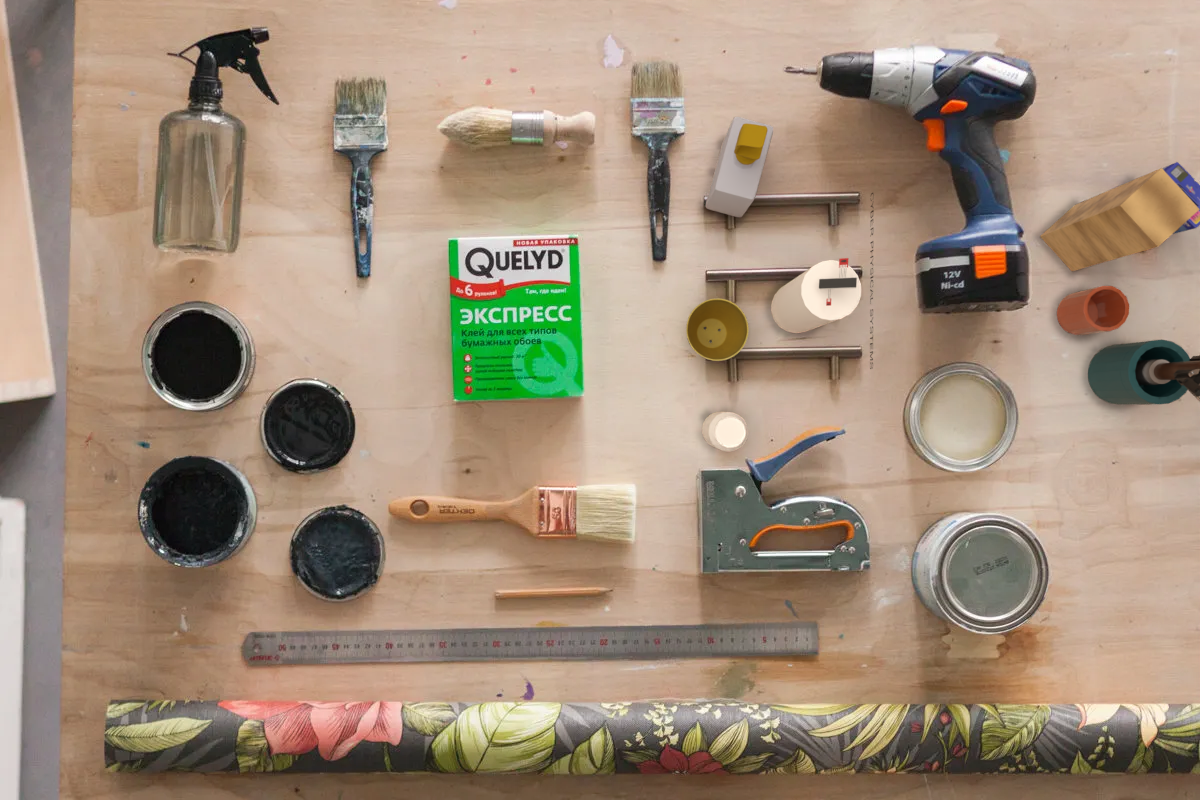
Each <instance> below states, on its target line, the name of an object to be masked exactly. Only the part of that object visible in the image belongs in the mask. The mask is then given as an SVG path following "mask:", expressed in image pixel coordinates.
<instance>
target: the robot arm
mask: <svg viewBox="0 0 1200 800" xmlns="http://www.w3.org/2000/svg"><path fill="white" fill-rule="evenodd" d="M1199 360H1200V354H1199V355H1193V356H1191V357H1190V359H1189V361H1199ZM1174 376H1175V377H1174V378H1175V379H1176V380H1177V381H1178V382H1179V383H1180V385H1182V386H1183V385H1184V386H1185V387H1186V388H1187V389H1188V390H1187V391H1189V393H1190V394H1191V395H1192V396H1194V398H1195V399H1196V400H1197V401H1199V402H1200V369H1195V370H1193V369H1192V370H1177V371H1176V372H1175V373H1174Z"/></svg>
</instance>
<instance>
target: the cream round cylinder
mask: <svg viewBox="0 0 1200 800" xmlns="http://www.w3.org/2000/svg"><path fill="white" fill-rule="evenodd" d="M701 432H702V436H703V437H702V438H703V439H704V441H705V442H706V443H707V444H708V445H709V446H710V447H712V448H714V449H717V450H720V451H722V452H735V451H736V450H739V449H741V448H742V447H743V446H744V445H745V443H746V442H747V440H748V437H749V427H748V424H747V422H746V420H745V419H744V418H743V417H742V416H741V415H740V414H738V413H736V412H732V411H716V412H713V413H711V414H709V415H708V416H707V417H705V420H704V421H703V423H702V427H701Z"/></svg>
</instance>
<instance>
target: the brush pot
mask: <svg viewBox="0 0 1200 800" xmlns="http://www.w3.org/2000/svg"><path fill="white" fill-rule="evenodd" d="M1129 314H1130V303H1129V300H1128V298H1127V295H1125V293H1124V292H1123V291H1122V290H1121V289H1120V288H1117V287H1115V286H1113V285H1100V286H1096V287H1091V288H1087V289H1083V290H1079V291H1075V292H1072V293H1070V294H1067V295H1066V296H1065V297H1063V298H1062V300H1060V302H1059V304H1058V306H1057V309H1056V319H1057V322H1058V324H1059V325H1060V328H1062V329H1063V330H1064V331H1065V332H1067V333H1068V334H1070V335H1073V336H1085V335H1092V334H1093V335H1094V334H1099V333H1107V332H1113V331H1114V330H1117V329H1119V328H1121V327H1122V325H1124V324H1125V323H1126V321H1127V319H1128V317H1129Z"/></svg>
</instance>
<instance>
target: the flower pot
mask: <svg viewBox="0 0 1200 800" xmlns="http://www.w3.org/2000/svg"><path fill="white" fill-rule="evenodd" d="M749 327H750V325H749V321H748V318H747V316H746V314H745V312H744V310H742V308H741V307H740V306H739V305H737V304H736V303H735V302H733V301H731V300H729V299H726V298H721V297H720V298H719V297H718V298H717V297H715V298H710V299H706V300H704V301H702V302H700V303H699V304H697V305H696V306H695V307H694V308H693V309H692V311H690V314H689V316H688V318H687V321H686V326H685V334H686V339H687V341H688V344H689V345H690V347H691V348H692V350H693V351H694V352H695V353H696V354H697V355H698V356H699V357H701V358H703V359H706V360H708V361H713V362H721V361H728V360H729V359H732V358H734V357H735V356H737V355H738V354H739V353H740V352H741V351H742V350H743V348H744V347H745V346H746V344H747V342H748V338H749V335H750V334H749V333H750V331H749V330H750V328H749ZM710 341H711V342H710Z"/></svg>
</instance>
